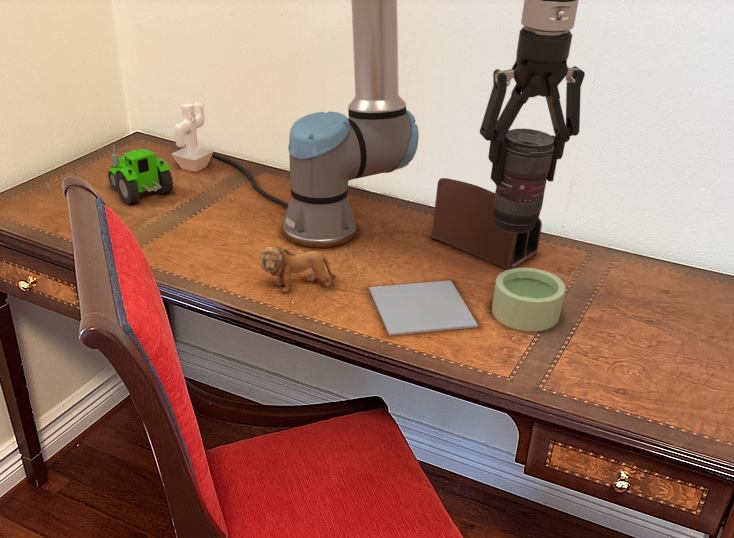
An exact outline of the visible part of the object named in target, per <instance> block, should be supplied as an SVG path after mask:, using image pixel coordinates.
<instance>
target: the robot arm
mask: <svg viewBox="0 0 734 538" xmlns="http://www.w3.org/2000/svg"><path fill="white" fill-rule="evenodd" d="M579 2H580V0H523V5H522V6H523V8H522V12H521V19H520V24H521V25H522V26H523V27H521V29H520V30H519V33H518V39H517V47H516V59H515V62H514V64H513V66H512V67H511V68H509V69H506V70H505V69H504V70H501V69H499V68H496V69H494V71H493V74H492V77H493V78H492V79H493V80H492V81H493V85H492V89H491V93H490V95H489V99H488V101H487V106H486V109H485V112H484V116H483V119H482V122H481V125H480V127H479V128H480V129H479V134H480V135H481V136H482V138H484V140H485V141H489V150H488V157H487V158H488V161H490V163H491V173H490V179H491V181H492V182H493V183H494V184H495V186H496V185H501V180H502V173H503V166H504V160H505V153H506V146H507V144H506V143H505V142H504V141H503V139H504V138H505V136H506V134H507V132H508V131H509V130H511V127H512V126H513V123H514V122H515V120H516V118H517V117H518V115H519V113H520V112H521V109H522V107H523V106H524V105H525V104H526V103H527V102H528V100H529V98H535V97H538V96H539V97H543V98H545V101H546V104H547V109H548V112H549V116H550V120H551V125H552V128H553V129H552V130H553V133H554V135H552V134H550V135H551V136H552V137H553V138H554V151H553V156H552V161H551V166H550V170H549V173H548V175H547V181H548V182H554V178H555V174H556V168H557V162H558V160H562V158H563V156H564V151H565V146H566V143H568V142H569V141H570V139H571V137H572V136H574V137H575V136H578V135H579V133H580V123H581V91H582V84H583V81H584V78H585V75H586V72H585V71H584V70H582V69H581V68H580V67H578V66H576V65H575V66H572V67H569V66H568V64H567V63H568V62H567V61H568V59H569V56H570V52H571V51H570V50H571V45H572V41H573V33H572V32H571V30H572V29H574V28H575V24H576V18H577V14H578V13H577V12H578V7H579ZM350 3H351V4H350V5H351V25H352V50H353V53H352V54H353V72H354V73H353V74H354V75H353V76H354V77H353V78H354V98H353V99H352V100H351V102H350V103H348V106H347V110H348V111H347V112H348V117H347V116H346V115H345V114H343V113H342V112H337V111H327V112H325V111H317V112H313V113H309V114H306V115H304V116H302V117H300V118H298V119H297V120H296V121H294V123H293V124H292V125H291V127H290V130H289V137H288V149H287V150H288V154H289V182H290V183H289V184H290V197H289V201H288V202H286V201H284V200H281V199H279V198H277V197H275V196H273V195H271V194H269V193H267V192H266V191H264V190H263V189H262V188H260V186H258V184H257V182H256V179H255V178H254V177H253V175H252V174H251V173H250V172H249V171H248V170H247V169H246V168H245V167H243V166H242V165H241V164H239V163H237V162H235V161H234V160H232V159H230V158H228V157H225V156H222V155H220V154H218V153H215V152H213V154H212V156H211V157H214V158H217V159H219V160H221V161H224V162H226V163H228V164H230V165H233V166H234V167H236V168H237V169H238V170H240V171H241V172H242V173H243V174H244V175H245V176H247V178H248V180H249V181H250V182H251V184H252V186H253V188H254V189H255V190H256V192H258V193H259V194H260V195H262V196H263V197H265V198H267V199H269V200H270V201H273V202H275V203H277V204H279V205H282V206H284V207H286V210H285V214H284V216H283V220H282V233H283V236H284V237H285V238H286V239H287V240H288V241H289V242H291V243H294V244H296V245H299V246H302V247H307V248H315V249H319V248H320V249H327V248H334V247H339V246H342V245H344V244H346V243H348V242H350V241H351V240H352V239H353V238H354V237H355V236H356V234H357V222H356V218H355V216H354V212H353V209H352V205H351V202H350V200H349V181H352V180H357V179H361V178H366V177H371V176H375V175H380V174H388V173H392V172H395V171H398V170H400V169H403V168H406V167H407V166H408V165H409V164H410V163H411V162H412V161H413V159H414V158H415V156H416V153H417V150H418V145H419V137H420V136H419V127H418V124H417V123H416V121H417V120H416V118H415V116H414V114H413V113H412V112H411V111H409V110H408V109H407V103H406V101H405V100H404V99H403V98H402V97H401V95H399V42H398V41H399V40H398V39H399V38H398V37H399V35H398V34H399V33H398V32H399V31H398V30H399V29H398V0H350ZM564 79H565V82H566V87H565V89H566V90H565V91H566V93H565V117H564V113H563V109H562V104H561V95H560V91H559V85H560V84H561V83H562V82H563V80H564ZM512 80H514V82H515V85H514V87H513V88H512V90H511V93H510V97H509V98H508V101H507V102H506V104H505V107H504V108H503V110H502V107H503V104H504V100H505V98H506V95H507V89H508V87H509V86H510V85H511V81H512ZM501 110H502V112H501Z"/></svg>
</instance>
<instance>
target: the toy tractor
mask: <svg viewBox="0 0 734 538" xmlns="http://www.w3.org/2000/svg"><path fill="white" fill-rule="evenodd" d="M112 152H113V153H112V154H111V159H112V160H111V164H110V168H108V172H107V177H108V181H109V183H110V186H111V187H112V188H113V189H114V190H116V192H117V194H118V196H119V198H120V199H121V201H122V202H123V203H124V204H125V205H131V204H135V203H137V202H138V201H139V200H140V193H143V192H146V191H147V192H148V193H151V192H155V193H158V194H159V195H163V194H167V193H170V192H172V191H173V188H174V181H173V176H172V172H171V168H170V167H169V164H168V163H167V161H166V160H165V159H163V158H161V157H158V158H157V156H156V153H155V152H153V151H151V150H148V149H144V148H140V149H135V150H132V151H127V152H124V153H123V156H122V157H120V156H119V154H118V153H117V151H116V146H115V143H113V144H112Z"/></svg>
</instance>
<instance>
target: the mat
mask: <svg viewBox="0 0 734 538" xmlns="http://www.w3.org/2000/svg"><path fill="white" fill-rule="evenodd" d="M368 291H369V293H370V295H371V297H372V300H373V303H374V305H375V307H376V310H377V311H378V314H379V316H380V319H381V320H382V322H383V325H384V328H385V329H386V332H387V334H388V337H393V336H402V335H412V334H424V333H434V332H444V331H455V330H464V329H475V328H478V327H479V324H478V323H477V321H476V319H475V317H474V315H473V314H472V313H471V311H470V309H469V307H468V306H467V304H466V303H465V301H464V299H463V298H462V296H461V294H460V293H459V291H458V289H457V288H456V286H455V284H454V283H453V281H452V280H451V279H449V280H447V279H446V280H437V281H426V282H425V281H424V282H413V283H403V284H391V285H379V286H378V285H377V286H368Z"/></svg>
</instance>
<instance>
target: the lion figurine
mask: <svg viewBox="0 0 734 538" xmlns="http://www.w3.org/2000/svg"><path fill="white" fill-rule="evenodd" d="M259 262H260V263H259V265H260V267H261V269H262V270H263V271H264V272H266V273H269V274H271V276H272V277H276V278H277V277H278V280H277V281H276V282H275V285H276V286H279V287H280V286H283V287H282V288H281V292H283V293H287V292H289V290H290V279H291V276H292V274H300V273H303V272H306V271H307V270H309V269H310V270H311V271H312V275H311V276H308V277H307V278H306V279H307V281H308V282H313V281H314V280H316V278H317V276H319V277H321V278H323V279H325V280H326V281H325V282H324V283H323V286H324V287H325V288H329V287H331V285H332V279H336V278H337V276H336V274H332V270H331V266H330V263H329V260H328V259H327V257H326V256H325V254H323V253H321V252H319V251H316V250H309V251H306V252H301V253H293V252H291V251H289V250H288V249H286V248H282V247H279V246H276V245H275V246H273V245H270V246H269V245H268V246H265V247H263V249H262V250H261V251H260V255H259ZM325 267H326V268H325ZM326 270H327V271H326ZM331 278H332V279H331Z"/></svg>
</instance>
